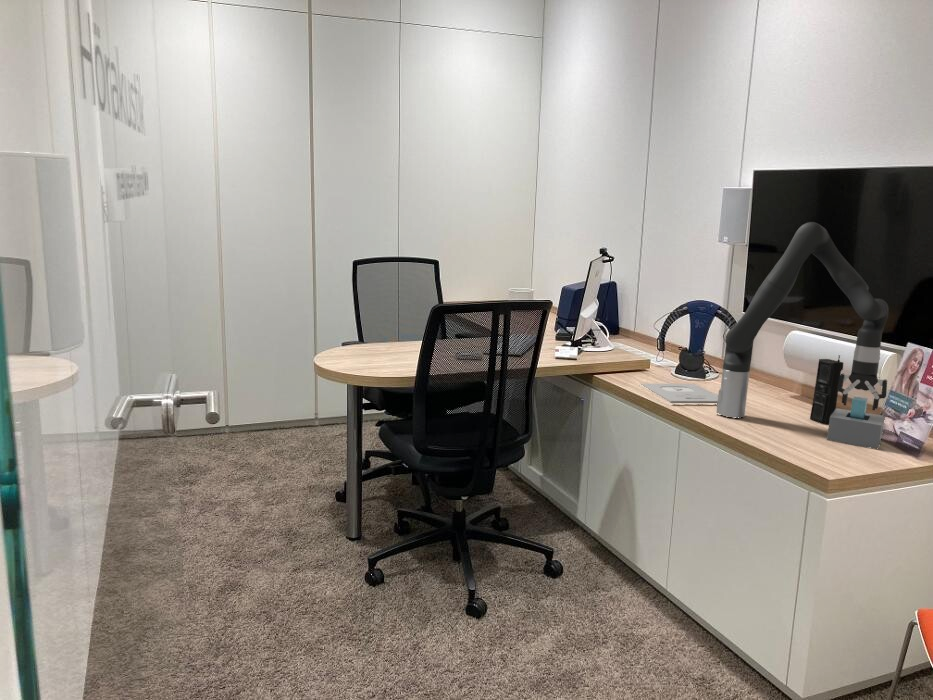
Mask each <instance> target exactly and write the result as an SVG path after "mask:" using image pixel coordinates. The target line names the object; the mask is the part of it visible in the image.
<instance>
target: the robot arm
mask: <svg viewBox="0 0 933 700" xmlns="http://www.w3.org/2000/svg"><path fill="white" fill-rule="evenodd" d="M811 254H812V255H813V256H814V257H816V258H817V259H818V260H819V262H821V263H822V265H823V266H824V267H825V268H826V270H827V271H828V273H829V275H830V276H831V278H832V280H833V281H834V282H835V283H836V285H837V286H838V287H839V289H840V290H841V291H842V292H843V293H844V295H845V296H846V297H847V298H848V299H849V301H850V305H851V306H852V307H853V309H854V311H855V312H856V314H857V315H858V316H859V317H860V318H861V319H862V320H863V324H862V326H861V327H860V328H859V329H858V331H857V335H856V341H855V343H856V344H855V348H854V350H853V351H854V352H853V357H852V358H853V359H852V365H851V373H850V374H845V373H843V372H841V374H840V379H839V383H838V388H837V391H838V393H841V394H842V396H841V403H842V404H843V406H847V403H848V398H849V397H848V396H849V393H850V391H852V390H853V389H856V390H862V391H864V392H865V391H866V392H867V391H870V394H872V396H873V397H874V399H873V401H872V411H876V409H878V407H879V402H880V400H881V399H885V398H886V397H887V392H888V390H887V389H888V380H887V379H886V378H885V379H879V378H878V372H879V364H880V359H881V344H882V337H883V332H884V329H885V326H886V324H887V321H888V317H889V305H888V303H887V302H886V301H885V300H884V299H882V298H875V297H873V295H872V294H871V292H870V291H869V289H870V287H869V285H868V283H867V282H866V281H865V280H864V278H863V277H862V276H861V275H860V274H859V273H858V272H857V270H855V268H854V267H853V266H852V265H851V264H850V263H849V262H848V260H847V259H846V258H845V257H844V256H843V255H842V253H841V251H839V250H838V248H837V246H836V245H835V243H834V241H833V239H832V238H831V236H830V234H829V232H828V230H827V229H826V228H825V227H824V226H822V225H821V224H819V223H817V222H814V221H809V222H806V223H804V224H801V226H800V227H799V228H798V229H797V230H796V231H795V233H794V236H793V237H792V239H791V240H790V242H789V244H788V246H787V248H786V249H785V251H784V253H783V254H782V256H781V257H780V258H779V260H777V262H776V263H775V264H774V266H773V268H772V269H771V271H770V272H769V273H768V275H767V276H766V277H765V279H764V280H763V282H762V283H761V284H760V286H759V287H758V289H757V290H756V292H755V294H754V295H753V297H752V299H751V301H750V303H749V305H748V307H747V308H746V310H745V312H744V314H743V315H742V316H741V318H739V320H737V322H736V323H735V325H734V326H733V327H731V328H730V329H729V330H728V332H727V333H726V335H725V349H724V356H723V357H724V358H723V362H722V363H723V365H722V373H721V382H720V388H719V389H718V393H717V395H718V403H717V405H716V406H717V407H716V413H719V414H721V415H724V416H728V417H736V418H738V417H739V418H740V419H742V418H741V417H744V418H745V414H746V407H747V406H746V405H747V396H748V388H749V379H750V371H751V365H752V364H751V363H752V355H753V348H754V341H755V338H756V337H757V335H758V334H759V332H760V330H761V328H762V327H763V325H764V324H765V323H766V322H767V320H768V319H769V318H770V317H771V316H772V315H773V314H774V313H775V312H776V311H777V310H778V308H779V306H781V304H782V303H783V302H784V301H785V299H786V298H787V297H788V295H789V293H791V290H792V289H793V287H794V285H795V283H796V280H797V278H798V276H799V272H800V270H801V268H802V266H803V264H804V263H805V262H806V261H807V259H808V258H809V257H810V255H811ZM847 379H848V380H849V381H850V383H851V384H850V385H848V386H847V387H846V388H843V386H844V382H846V381H847ZM876 384H879V386H880V387H881V394H879V392H878V391H877V389H876V387H875V386H876ZM716 413H715V414H716Z"/></svg>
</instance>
